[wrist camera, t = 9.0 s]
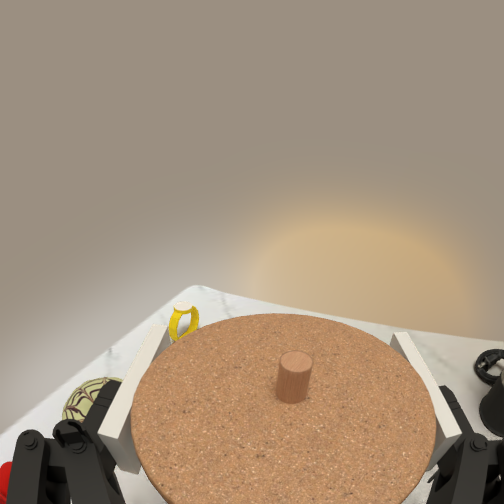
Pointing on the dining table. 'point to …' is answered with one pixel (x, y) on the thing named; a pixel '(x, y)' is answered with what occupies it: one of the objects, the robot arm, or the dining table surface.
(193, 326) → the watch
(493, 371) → the dining table surface
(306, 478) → the lidded jar
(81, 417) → the decorated donut
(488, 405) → the milk frother
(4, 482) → the ceramic cup
